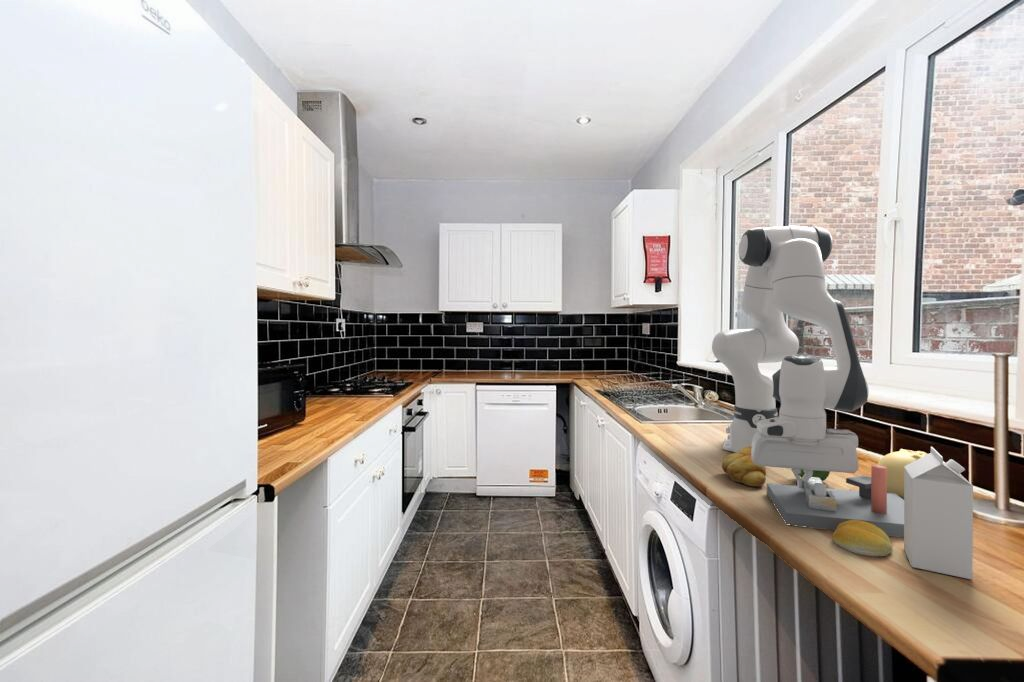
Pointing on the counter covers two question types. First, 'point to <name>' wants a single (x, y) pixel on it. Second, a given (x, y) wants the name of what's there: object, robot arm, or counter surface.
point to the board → (838, 507)
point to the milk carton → (938, 516)
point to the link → (819, 497)
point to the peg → (879, 489)
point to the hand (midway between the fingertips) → (802, 487)
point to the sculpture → (898, 468)
